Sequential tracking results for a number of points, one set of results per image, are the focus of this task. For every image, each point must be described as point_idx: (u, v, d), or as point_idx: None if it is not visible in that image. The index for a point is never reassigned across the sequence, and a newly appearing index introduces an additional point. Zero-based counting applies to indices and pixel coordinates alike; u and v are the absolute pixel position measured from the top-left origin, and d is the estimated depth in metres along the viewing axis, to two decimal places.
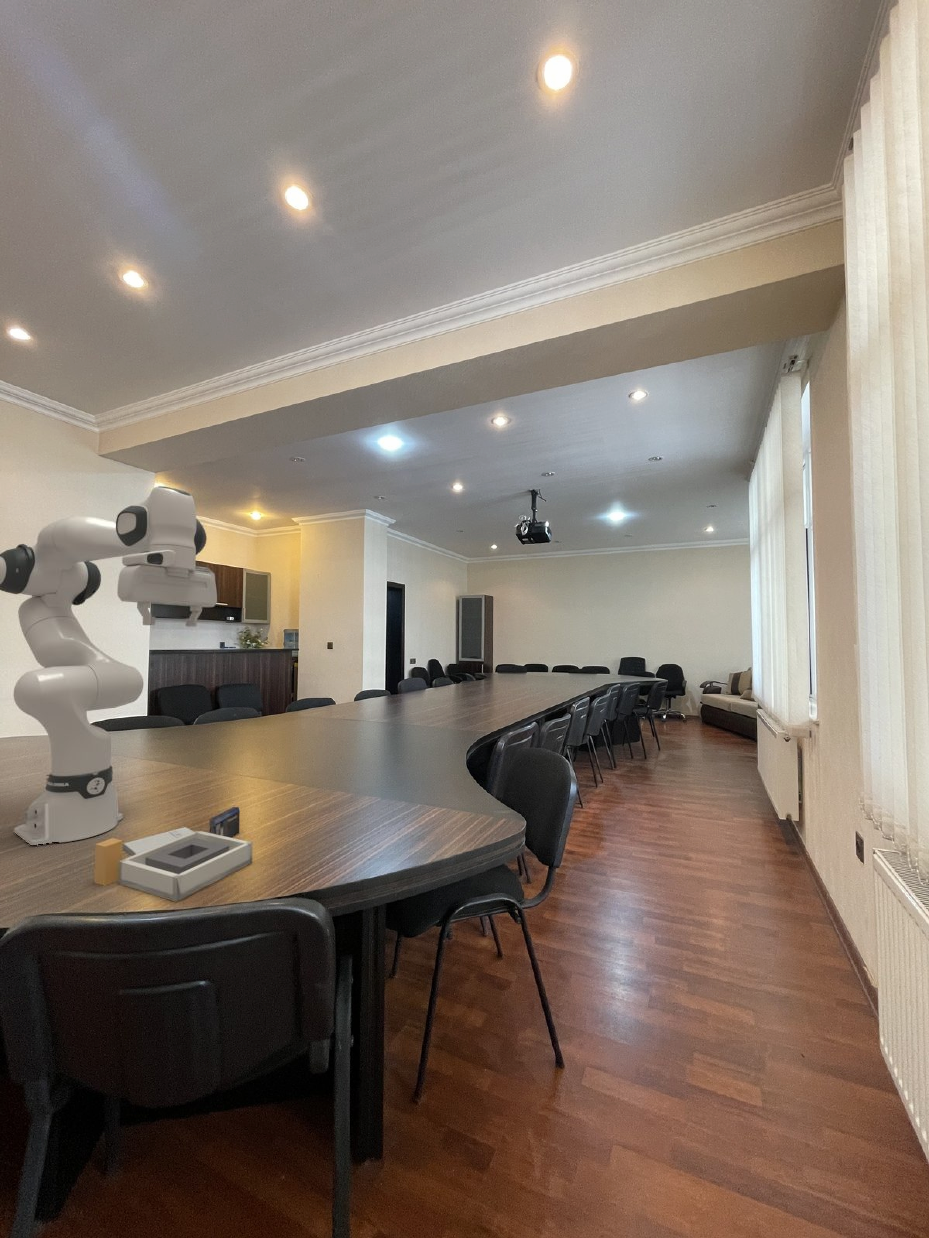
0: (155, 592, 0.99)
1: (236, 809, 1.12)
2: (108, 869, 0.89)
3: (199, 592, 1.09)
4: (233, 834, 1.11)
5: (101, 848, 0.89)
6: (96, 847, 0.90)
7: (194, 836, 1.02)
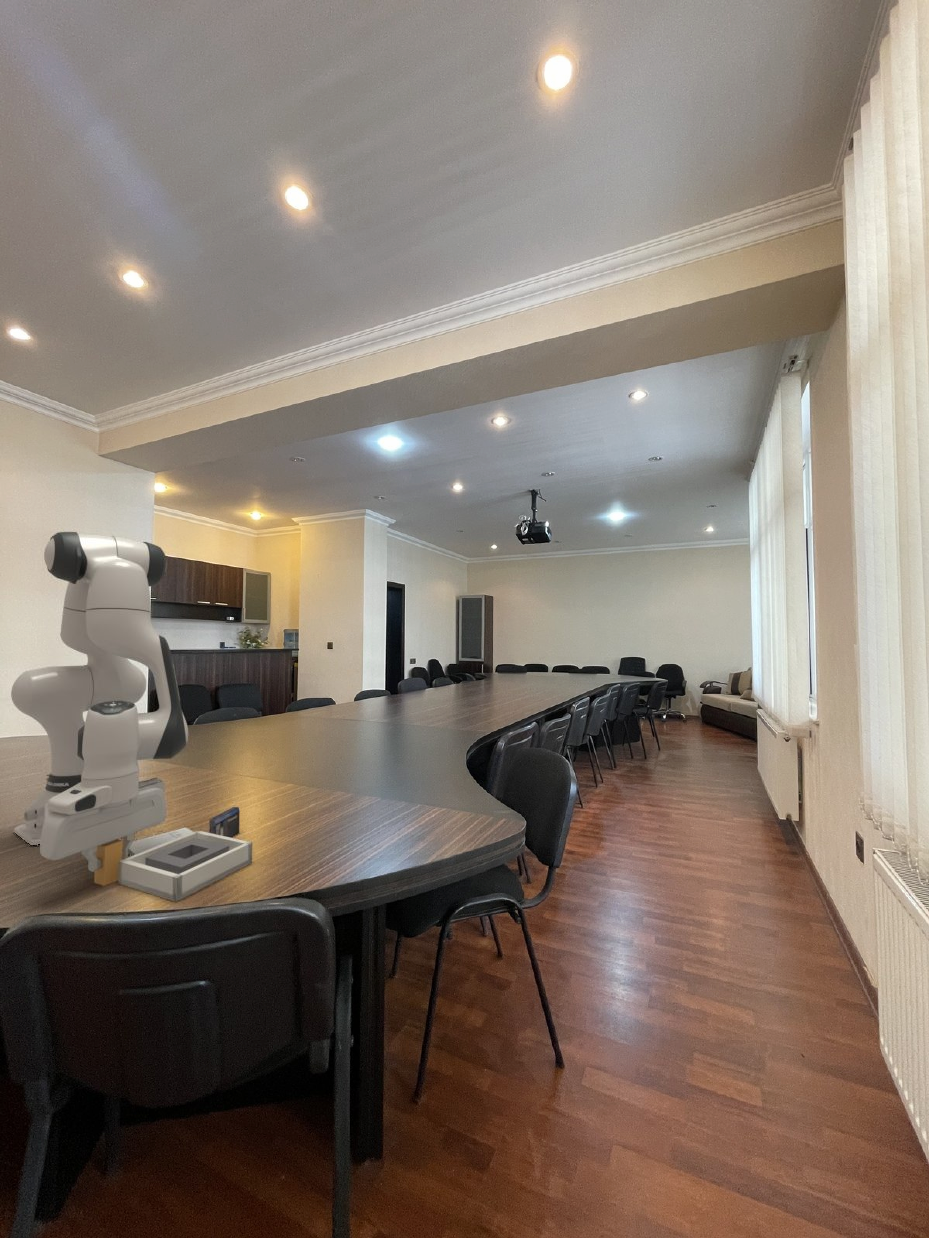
0: (87, 838, 0.86)
1: (236, 809, 1.12)
2: (108, 868, 0.89)
3: (144, 814, 0.95)
4: (233, 834, 1.11)
5: (101, 848, 0.89)
6: None
7: (194, 836, 1.02)
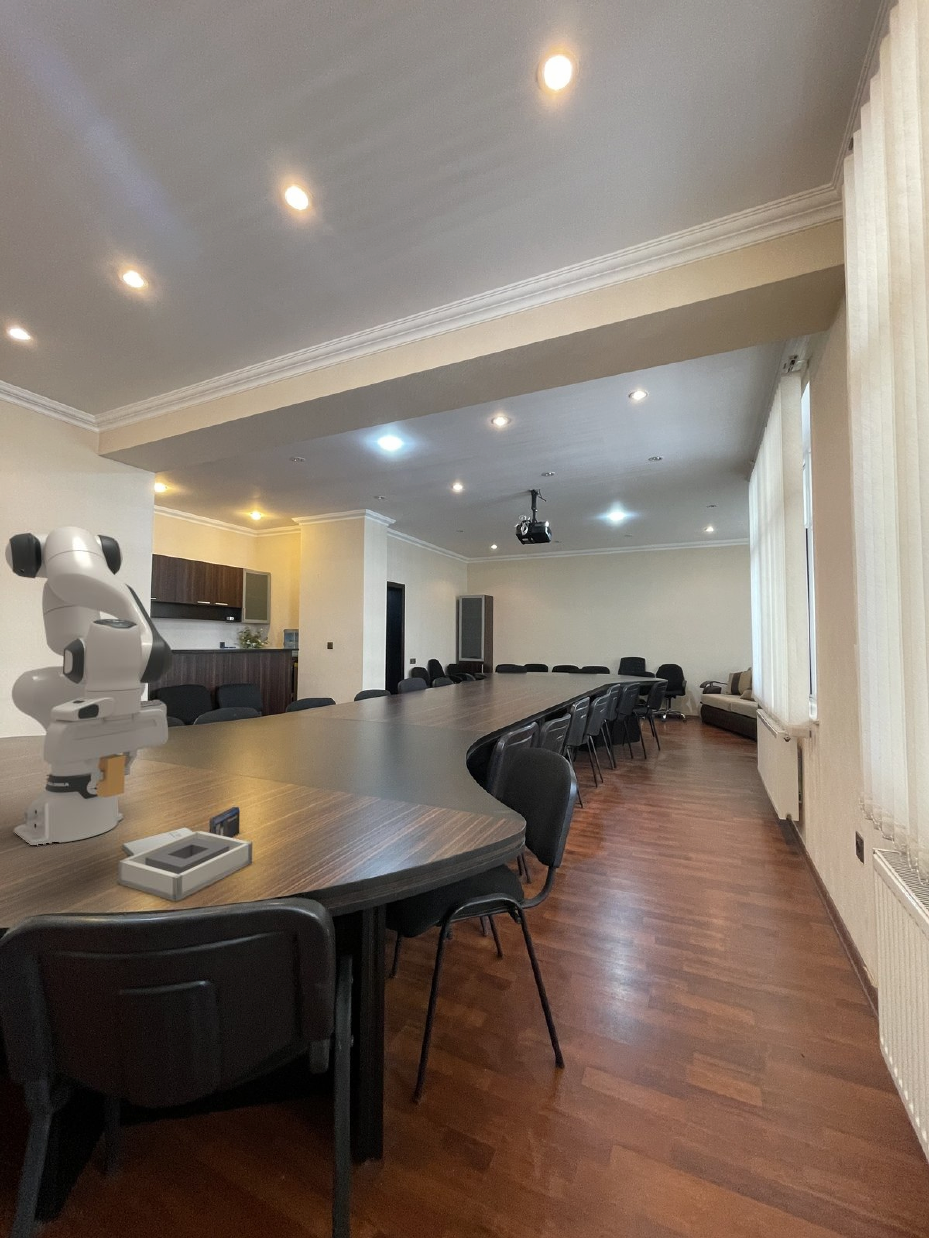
0: (90, 747, 0.87)
1: (236, 809, 1.12)
2: (110, 781, 0.90)
3: (146, 732, 0.96)
4: (233, 834, 1.11)
5: (104, 761, 0.90)
6: None
7: (194, 836, 1.02)
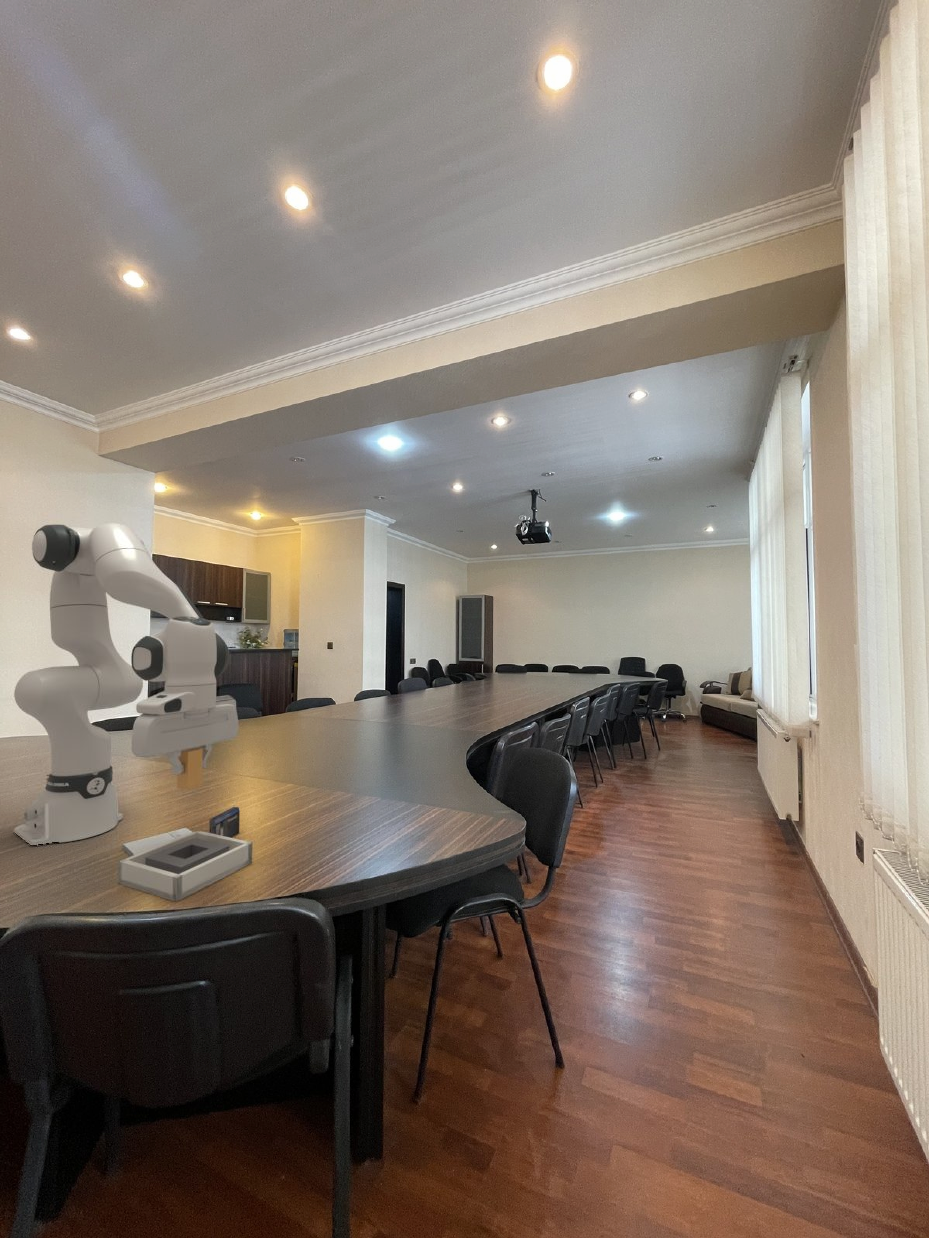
0: (173, 740, 0.89)
1: (236, 809, 1.12)
2: (190, 773, 0.92)
3: (220, 727, 0.98)
4: (233, 834, 1.11)
5: (184, 754, 0.93)
6: None
7: (194, 836, 1.02)
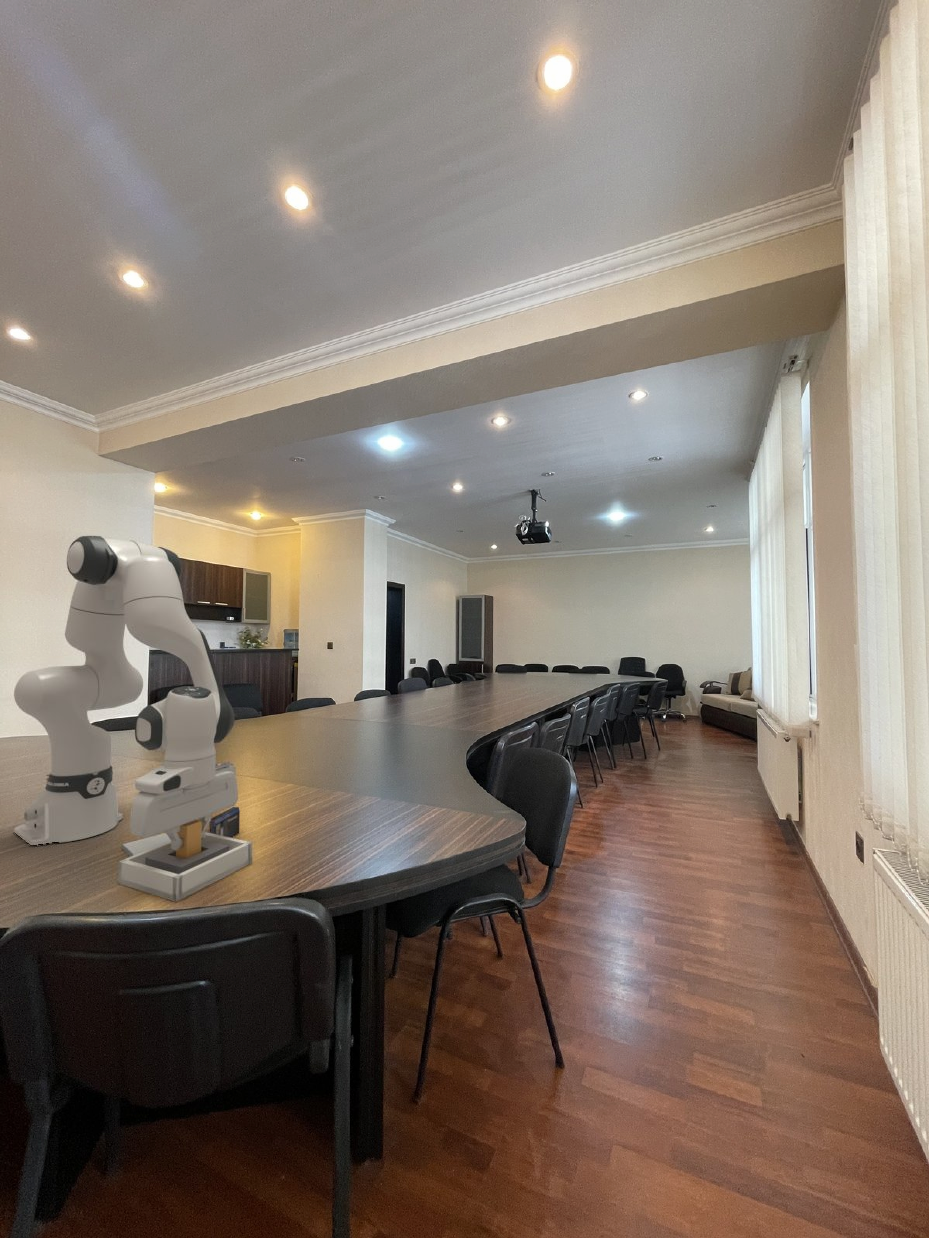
0: (172, 817, 0.89)
1: (236, 809, 1.12)
2: (189, 847, 0.92)
3: (219, 796, 0.98)
4: (233, 834, 1.11)
5: (183, 828, 0.92)
6: None
7: None
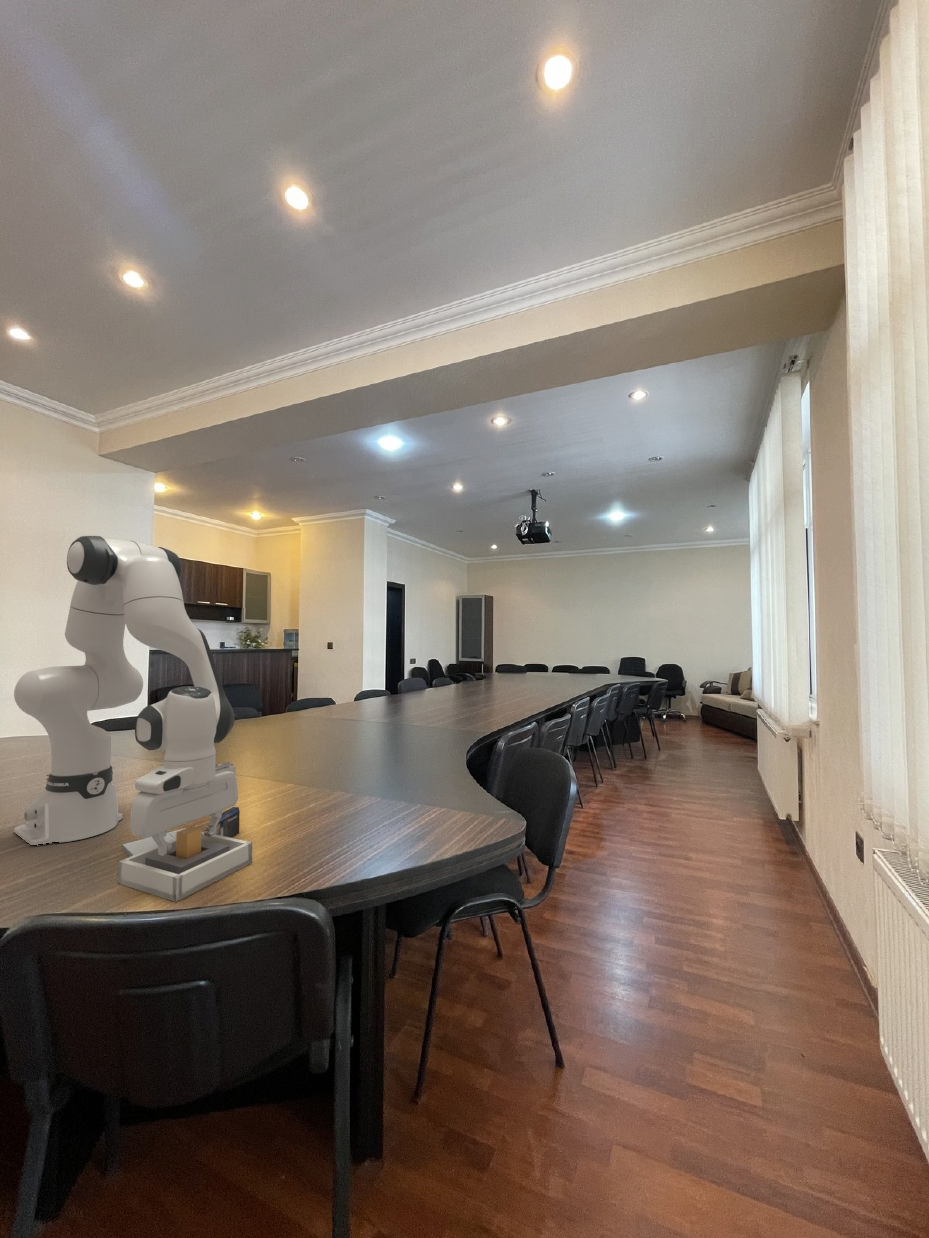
0: (172, 817, 0.89)
1: (236, 809, 1.12)
2: (189, 856, 0.92)
3: (219, 796, 0.98)
4: (233, 834, 1.11)
5: (182, 836, 0.92)
6: (177, 835, 0.93)
7: None
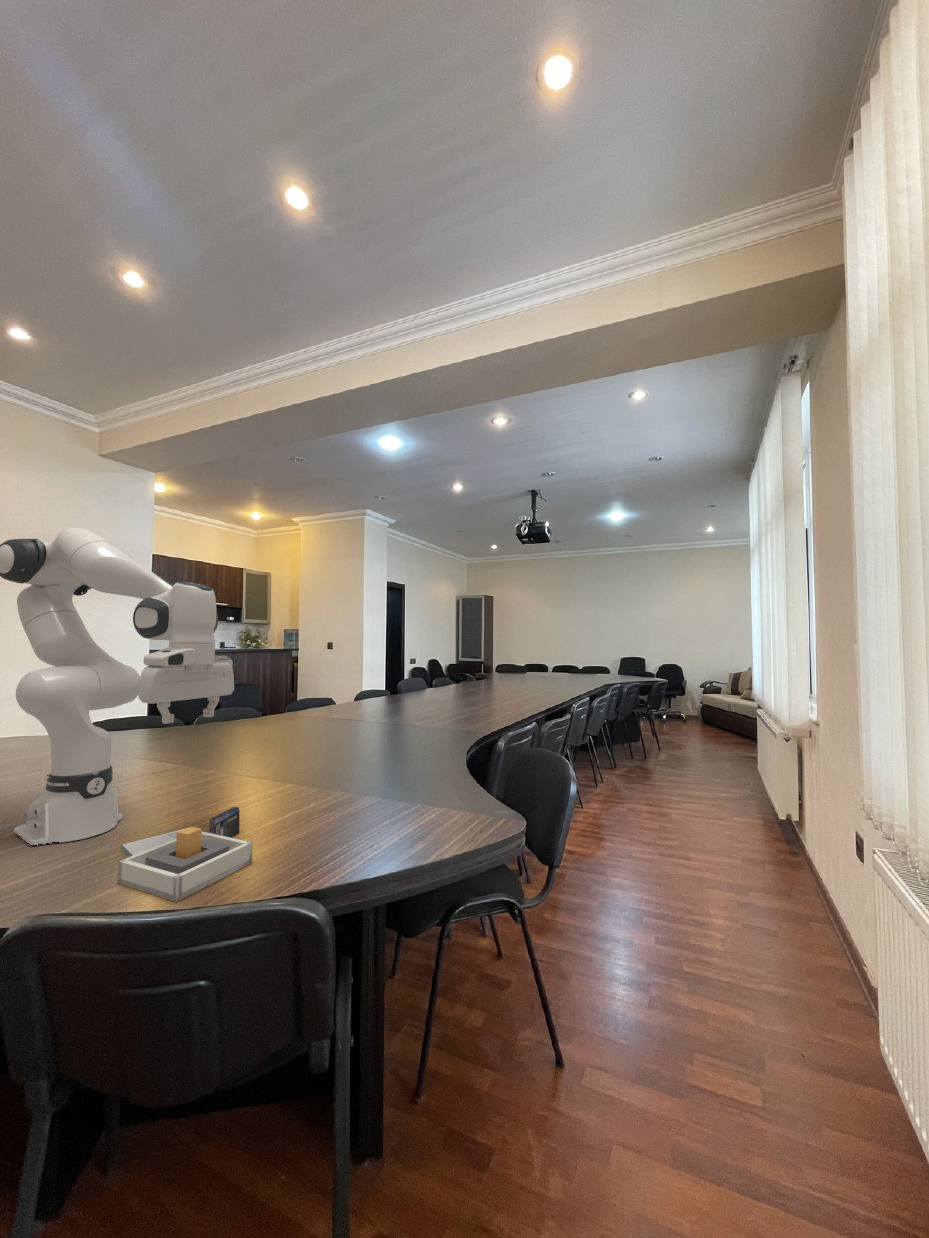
0: (175, 690, 1.01)
1: (236, 809, 1.12)
2: (189, 856, 0.92)
3: (217, 683, 1.10)
4: (233, 834, 1.11)
5: (182, 836, 0.92)
6: (177, 835, 0.93)
7: None
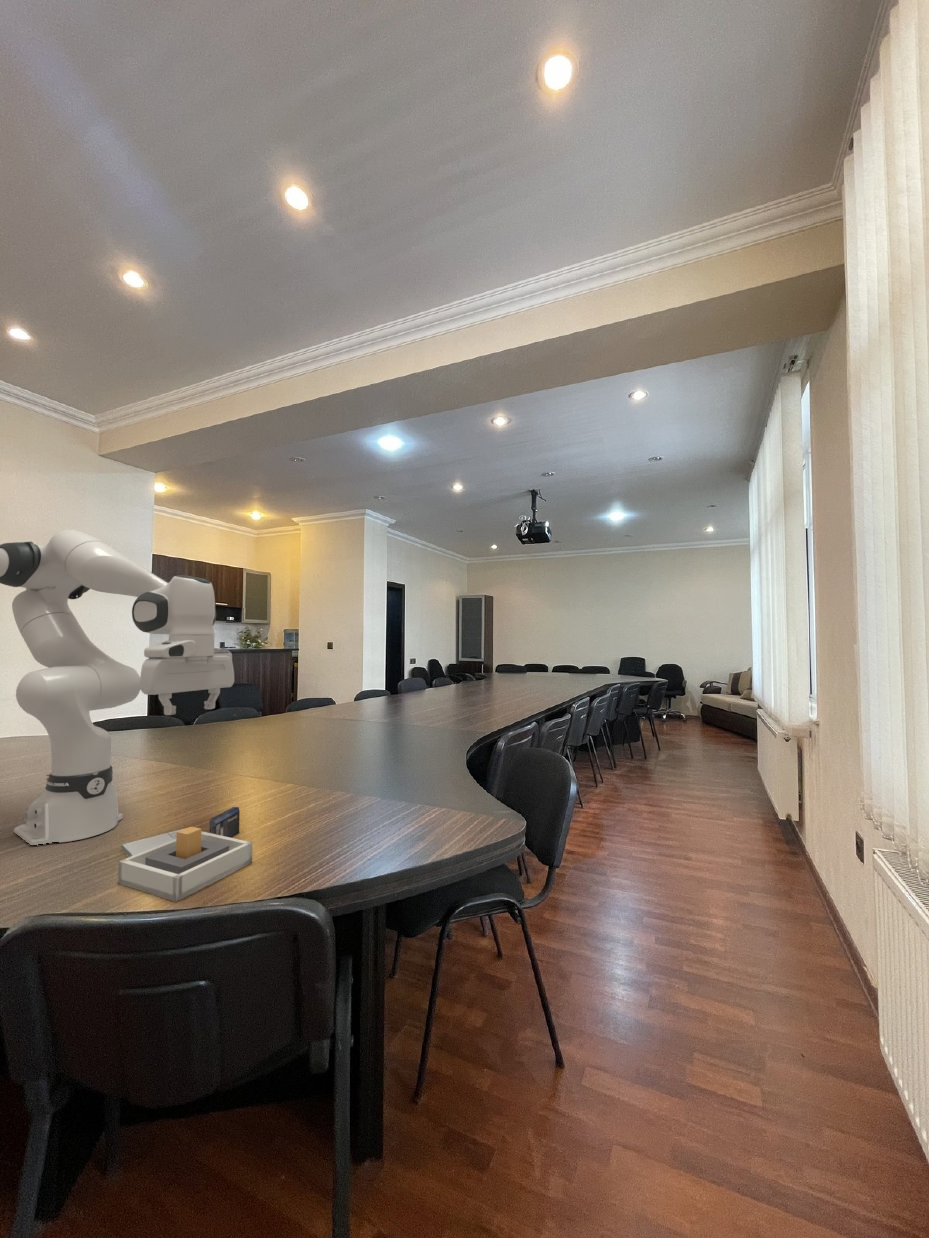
0: (176, 682, 1.02)
1: (236, 809, 1.12)
2: (189, 856, 0.92)
3: (218, 675, 1.11)
4: (233, 834, 1.11)
5: (182, 836, 0.92)
6: (177, 835, 0.93)
7: None
